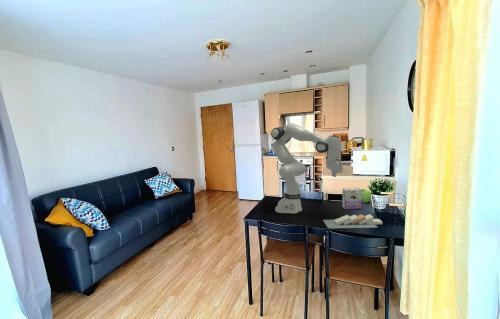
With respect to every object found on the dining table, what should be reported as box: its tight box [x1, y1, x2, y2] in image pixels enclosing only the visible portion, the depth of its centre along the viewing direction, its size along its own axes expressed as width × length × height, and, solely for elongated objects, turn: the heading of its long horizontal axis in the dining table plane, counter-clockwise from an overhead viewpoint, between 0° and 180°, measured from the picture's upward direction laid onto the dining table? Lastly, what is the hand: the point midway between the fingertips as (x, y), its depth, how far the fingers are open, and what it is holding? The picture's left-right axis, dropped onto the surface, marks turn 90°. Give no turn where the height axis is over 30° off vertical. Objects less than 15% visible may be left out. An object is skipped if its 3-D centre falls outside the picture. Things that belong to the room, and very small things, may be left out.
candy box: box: [342, 187, 363, 210], centre depth 183 cm, size 14×6×16 cm, turn 84°
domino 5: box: [366, 218, 383, 225], centre depth 153 cm, size 2×5×10 cm
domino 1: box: [333, 214, 351, 225], centre depth 154 cm, size 2×5×10 cm
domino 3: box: [351, 213, 366, 225], centre depth 154 cm, size 2×5×10 cm
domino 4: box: [358, 213, 375, 225], centre depth 153 cm, size 2×5×10 cm
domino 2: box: [343, 214, 359, 225], centre depth 153 cm, size 2×5×10 cm
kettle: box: [361, 188, 372, 204], centre depth 198 cm, size 15×14×11 cm
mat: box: [322, 219, 378, 229], centre depth 154 cm, size 32×14×1 cm, turn 86°
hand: (334, 176), depth 163 cm, fingers closed
